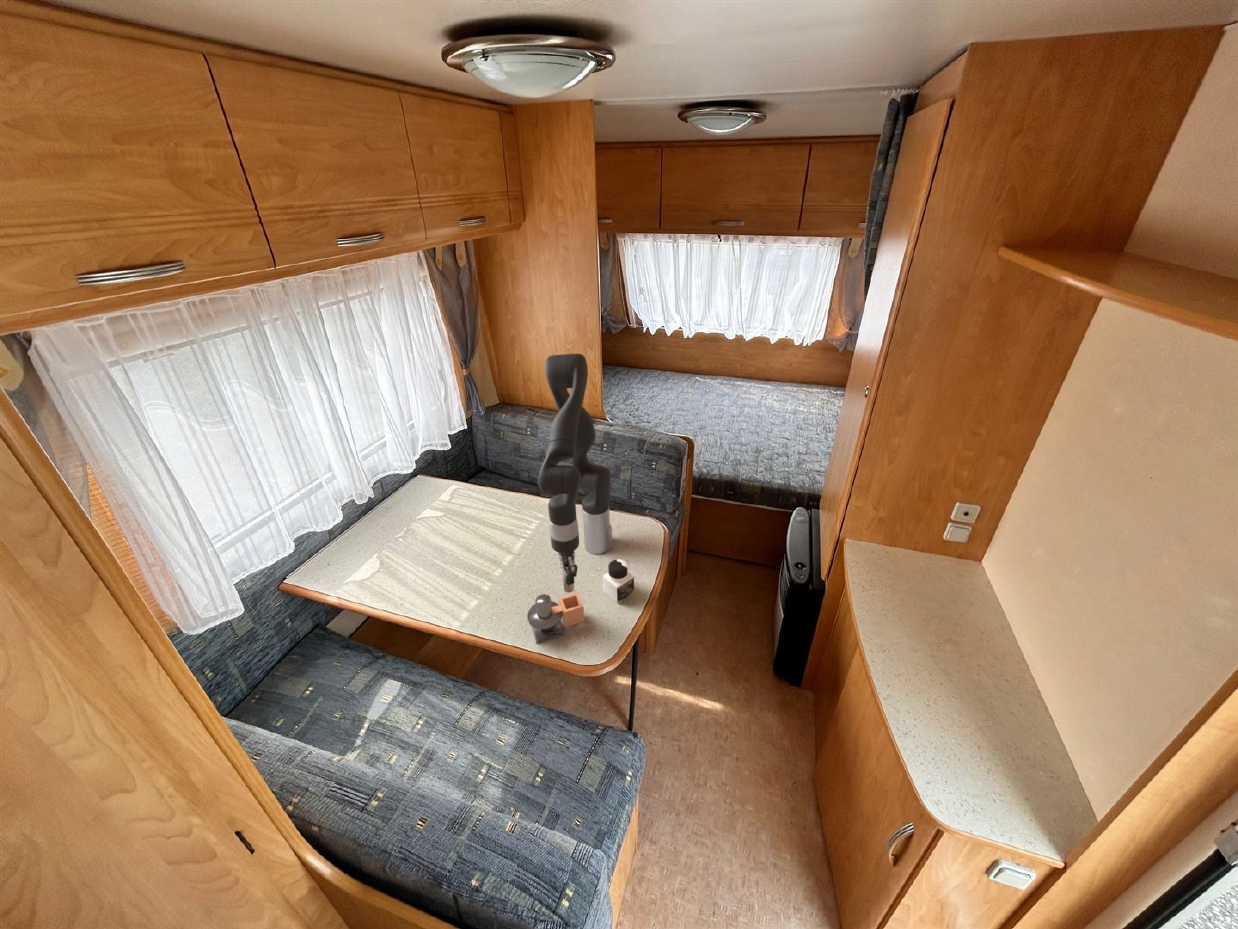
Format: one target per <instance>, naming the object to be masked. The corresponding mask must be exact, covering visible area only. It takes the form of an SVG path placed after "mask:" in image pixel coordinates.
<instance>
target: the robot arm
mask: <svg viewBox="0 0 1238 929" xmlns="http://www.w3.org/2000/svg"><path fill="white" fill-rule="evenodd" d="M544 373H545V377H546V381H547V383H548V388H549V390H550V392H551V395H552V397H553V400H554V403H555V405H556V408H557V414H556V415H555V417H554V419H553V420H552V422H551V425H550V430H549V438H548V448H547V451H546V454H545V458H544V460H543V463H542V465H541V468H540V469H539V473H538V477H537V486H538V487H539V489H540V491H541V492H542V493H544V494H557V495H554V496H553V497H551V498H550V499H549V501H548V502H547V503H548V506H547V507H548V517H549V525H548V526H549V536H550V543H551V544H550V545H551V548H552V549H553V551H555V552H556V553H557V554H558V560H559V561H560V562H561V561H562V565H561V568H562V567H563V569H564V570H565V575H566V583H567V585H571V584H574V585H575V578H576V577H577V575H578V574H577V573H578V567H579V566H578V565H577V564H576V561H575V558H576V552H575V551H577V549H578V548H579V545H580V535H579V534H580V532H579V522H578V518H577V506H576V505H577V495H578V492H579V489H580V490H582V491H585V492H588V493H589V494H587V495H585V496H584V497H583V498H582V501H581V509H582V510H581V511H582V523H583V524H582V525H583V539H584V543H583V544H584V549H585V551H586V552H588V553H589V554H592V555H601V554H605V553H607V552H608V551H609V550H610V549H612V548H613V526H612V524H611V521H610V514H611V513H610V501H611V484H612V483H611V481H612V480H611V478H612V476H611V472H610V469H609V468H608V467H606V466H602V465H599V464H596V463H595V464H594V463H591V462H590V461H589V459H588V453H589V451H590V450H591V448H592V447H593V445H594V443H595V440H596V430H595V425H594V421H593V417H592V416H591V415H590V414H591V413H590V412H588V411H587V409H585V408H584V407H583V403H584V399H585V394H586V389H587V383H588V378H589V377H588V376H589V370H588V362H587V360H586V357H585V355H583V354H581V353H566V354H564V353H563V354H552V355H549V356H548V357H546V359H545V362H544ZM568 389H571V391H570V392H569V391H568ZM568 460H571V465H558V464H559V463H561V462H564V461H568ZM568 564H569V565H568Z"/></svg>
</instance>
